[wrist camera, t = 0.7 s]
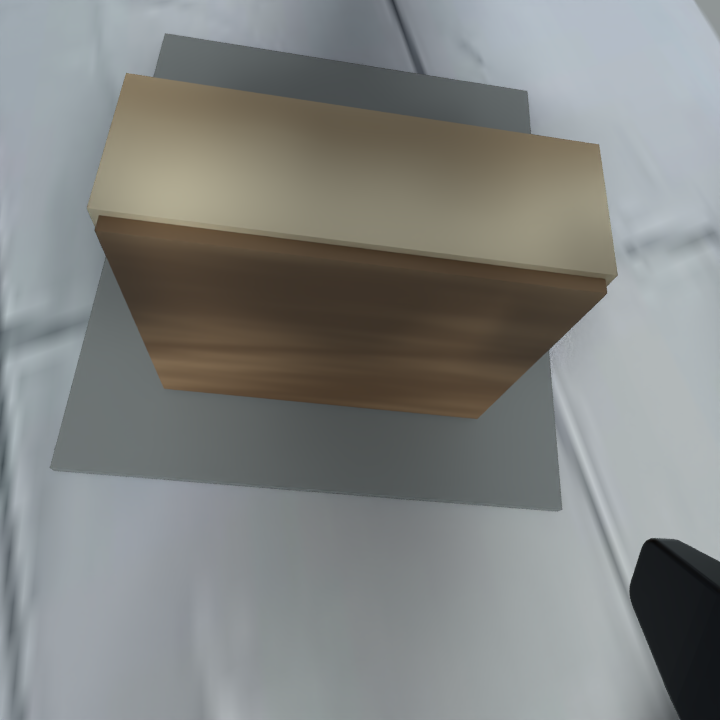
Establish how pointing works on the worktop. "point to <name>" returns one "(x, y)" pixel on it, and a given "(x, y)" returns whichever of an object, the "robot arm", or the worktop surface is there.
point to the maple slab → (344, 247)
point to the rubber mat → (300, 419)
